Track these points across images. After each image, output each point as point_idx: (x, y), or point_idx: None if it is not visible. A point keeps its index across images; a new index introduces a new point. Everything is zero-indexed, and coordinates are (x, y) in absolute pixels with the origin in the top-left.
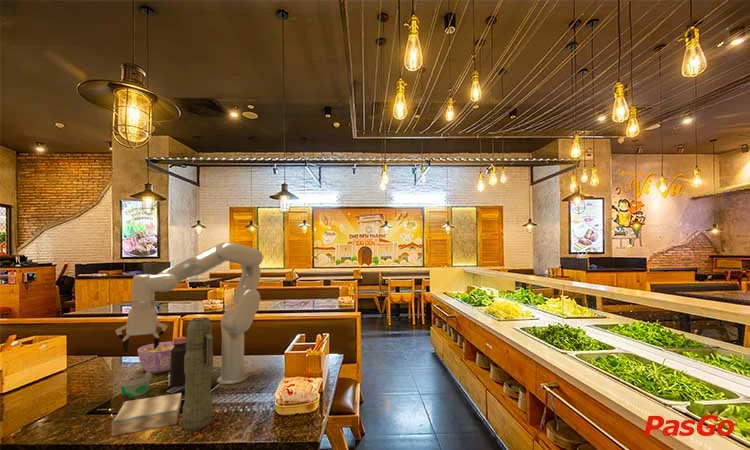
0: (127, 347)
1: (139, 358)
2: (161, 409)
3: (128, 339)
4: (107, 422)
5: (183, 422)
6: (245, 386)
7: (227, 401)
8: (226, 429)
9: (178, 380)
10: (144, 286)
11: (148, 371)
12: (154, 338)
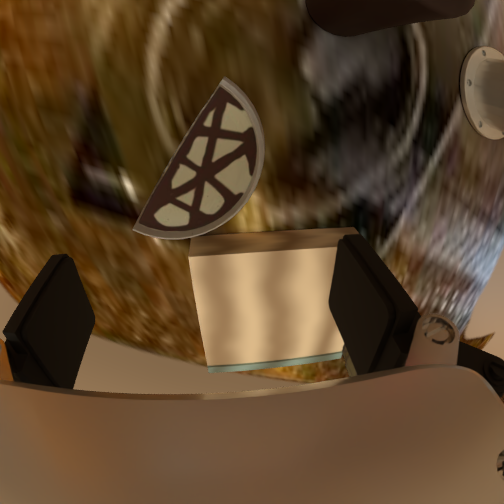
0: (80, 328)
1: None
2: (309, 341)
3: (17, 337)
4: (166, 285)
5: (345, 360)
6: (497, 174)
7: (444, 258)
8: None
9: (352, 33)
10: None
11: (238, 99)
12: (368, 370)
